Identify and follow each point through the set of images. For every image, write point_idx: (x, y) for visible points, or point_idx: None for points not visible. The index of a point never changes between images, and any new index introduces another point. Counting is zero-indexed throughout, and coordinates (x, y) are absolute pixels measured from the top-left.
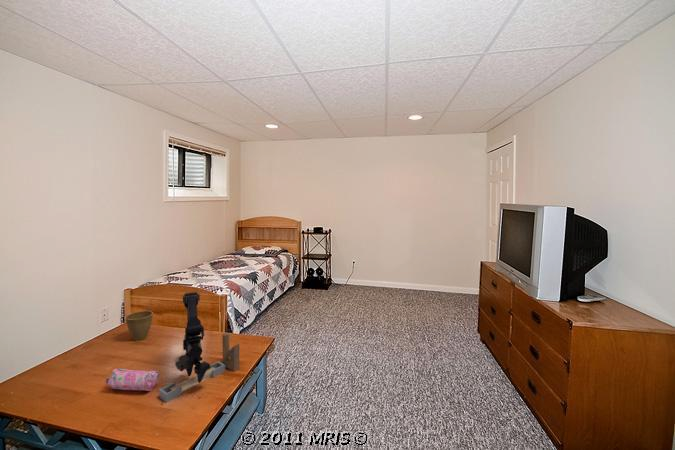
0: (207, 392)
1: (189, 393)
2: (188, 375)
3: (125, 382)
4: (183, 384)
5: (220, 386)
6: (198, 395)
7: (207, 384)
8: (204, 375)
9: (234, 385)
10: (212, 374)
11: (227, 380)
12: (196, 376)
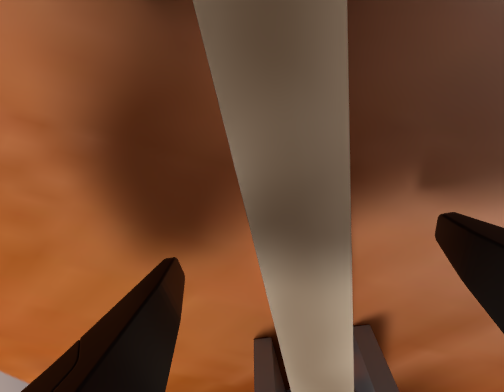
0: (31, 252)
1: (102, 103)
2: (455, 220)
3: None
4: (248, 67)
5: None
6: (6, 174)
7: None
8: (277, 336)
9: None
10: (265, 365)
11: None
12: (322, 283)
